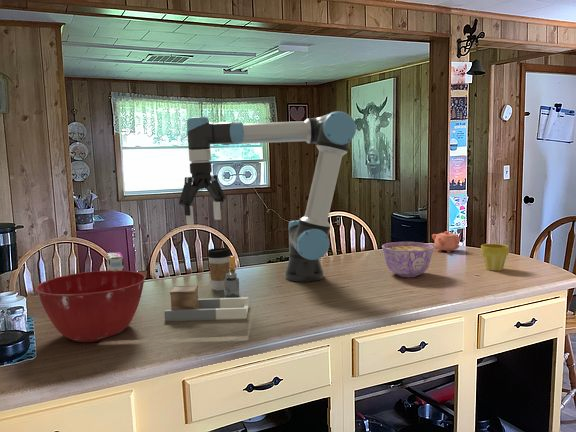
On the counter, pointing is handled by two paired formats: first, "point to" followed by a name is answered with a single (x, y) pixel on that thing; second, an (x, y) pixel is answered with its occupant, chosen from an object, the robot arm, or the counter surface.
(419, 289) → the counter surface
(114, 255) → the candy bar box
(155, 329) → the counter surface
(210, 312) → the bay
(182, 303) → the crate
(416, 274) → the bowl of food
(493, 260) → the plant pot
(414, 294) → the counter surface
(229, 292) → the winch
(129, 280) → the mixing bowl
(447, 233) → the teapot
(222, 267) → the coffee cup
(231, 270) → the crank
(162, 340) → the counter surface
